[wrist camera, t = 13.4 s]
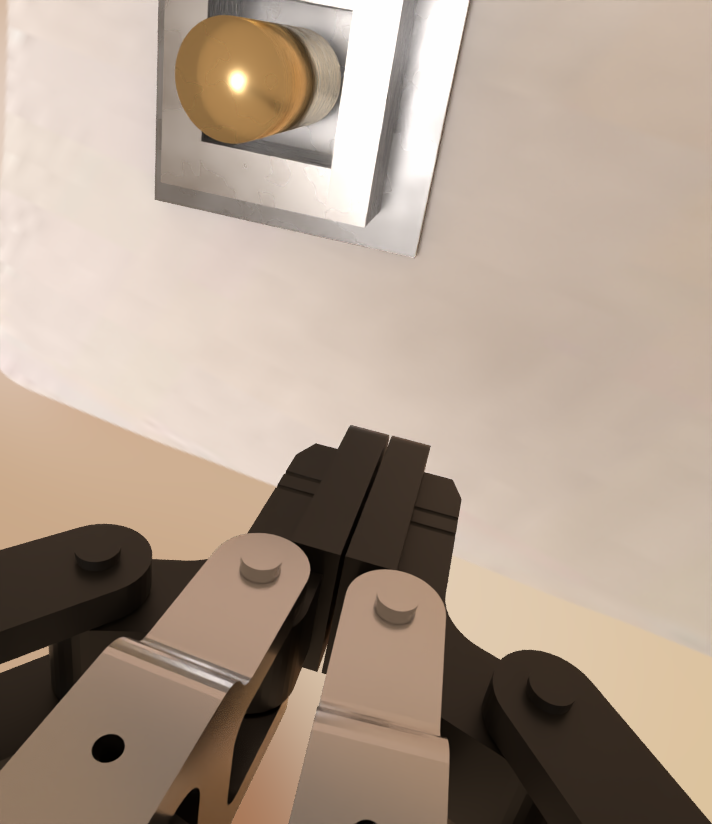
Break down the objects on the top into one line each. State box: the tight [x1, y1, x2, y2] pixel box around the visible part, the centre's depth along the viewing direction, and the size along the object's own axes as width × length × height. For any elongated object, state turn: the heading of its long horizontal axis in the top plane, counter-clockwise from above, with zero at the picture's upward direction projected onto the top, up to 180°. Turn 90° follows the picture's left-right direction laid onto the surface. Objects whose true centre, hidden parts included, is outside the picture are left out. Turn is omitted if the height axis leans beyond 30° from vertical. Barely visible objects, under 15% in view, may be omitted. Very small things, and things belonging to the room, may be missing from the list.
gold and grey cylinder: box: [175, 15, 341, 144], centre depth 30 cm, size 4×4×9 cm
